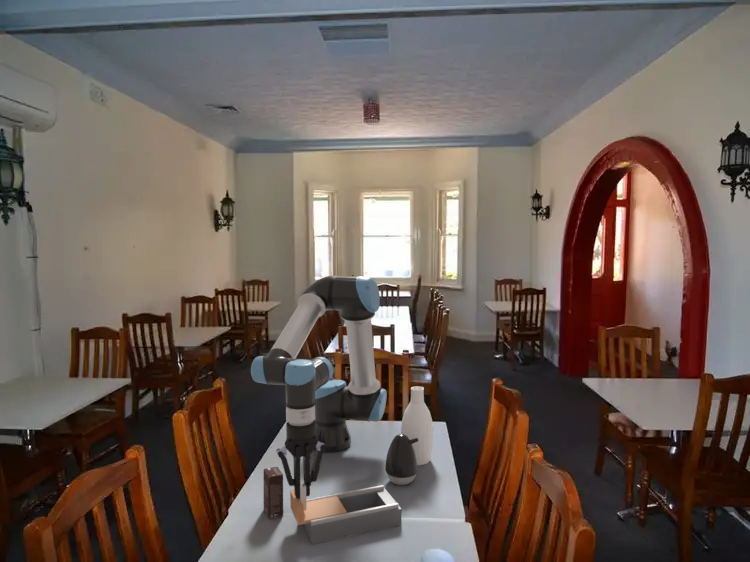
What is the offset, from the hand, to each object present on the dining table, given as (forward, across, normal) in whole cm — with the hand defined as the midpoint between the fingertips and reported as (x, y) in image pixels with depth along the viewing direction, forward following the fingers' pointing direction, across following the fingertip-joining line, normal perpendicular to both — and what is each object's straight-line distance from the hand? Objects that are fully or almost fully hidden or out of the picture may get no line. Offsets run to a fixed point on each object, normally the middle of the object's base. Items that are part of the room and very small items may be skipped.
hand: (302, 508), depth 138 cm
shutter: (+2, +4, 0) cm, 5 cm away
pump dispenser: (+7, +36, +16) cm, 39 cm away
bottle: (+7, +47, +28) cm, 55 cm away
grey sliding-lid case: (+6, +13, 0) cm, 15 cm away
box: (+7, -6, +12) cm, 15 cm away
